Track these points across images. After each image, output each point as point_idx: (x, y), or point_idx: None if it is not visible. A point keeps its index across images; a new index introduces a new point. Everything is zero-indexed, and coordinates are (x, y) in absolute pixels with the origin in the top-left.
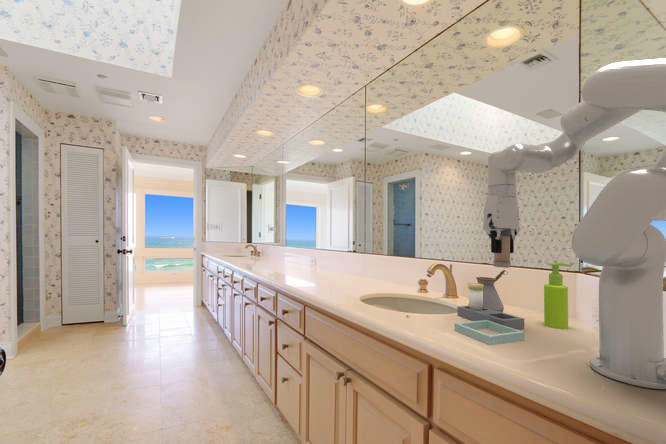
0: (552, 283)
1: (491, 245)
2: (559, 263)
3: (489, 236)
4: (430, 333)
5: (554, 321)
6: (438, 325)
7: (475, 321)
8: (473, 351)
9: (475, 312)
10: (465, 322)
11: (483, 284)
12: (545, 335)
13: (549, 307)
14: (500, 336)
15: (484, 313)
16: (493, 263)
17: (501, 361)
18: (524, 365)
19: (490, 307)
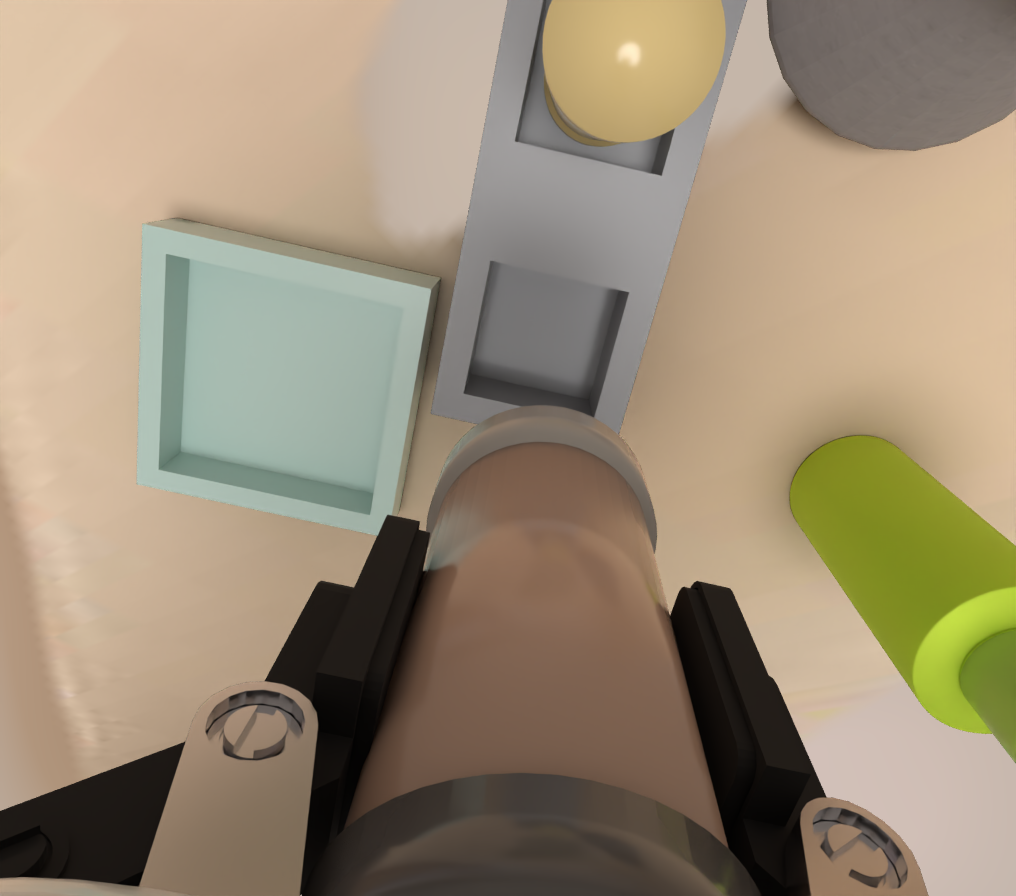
0: (968, 675)
1: (357, 589)
2: None
3: (125, 766)
4: (37, 123)
5: (809, 530)
6: (219, 14)
7: (318, 272)
8: (69, 435)
9: (479, 160)
10: (231, 250)
11: (679, 122)
12: (654, 505)
13: (845, 548)
14: (215, 497)
15: (498, 230)
16: (469, 443)
17: (96, 551)
18: (150, 611)
19: (815, 96)
